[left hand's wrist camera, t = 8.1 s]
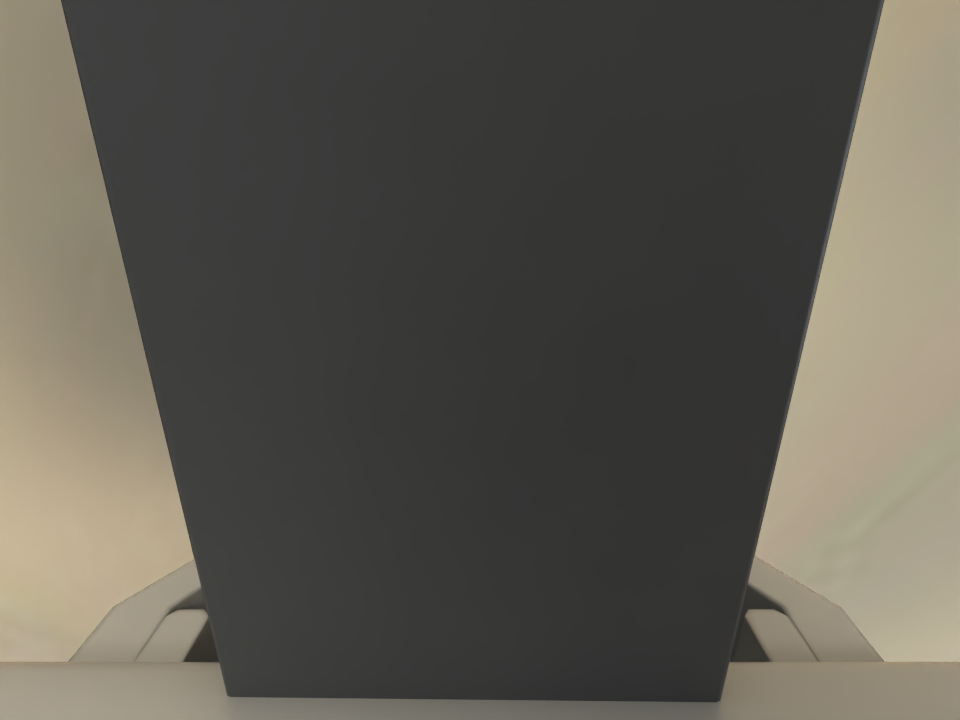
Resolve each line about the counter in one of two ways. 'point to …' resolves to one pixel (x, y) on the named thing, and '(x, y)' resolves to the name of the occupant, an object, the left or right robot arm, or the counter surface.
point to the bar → (473, 320)
